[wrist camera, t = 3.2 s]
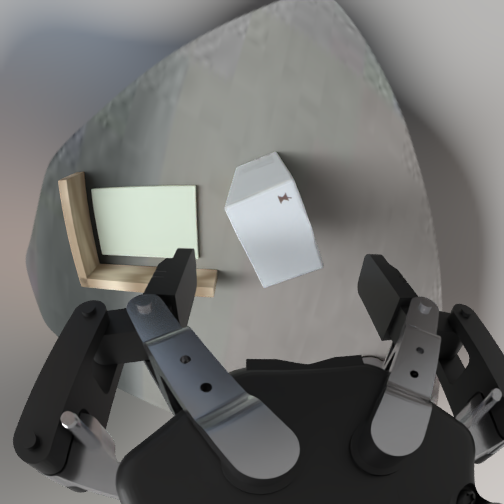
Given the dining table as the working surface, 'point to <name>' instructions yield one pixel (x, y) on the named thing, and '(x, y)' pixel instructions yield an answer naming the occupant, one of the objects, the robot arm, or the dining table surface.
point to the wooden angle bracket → (87, 254)
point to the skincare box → (272, 221)
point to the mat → (146, 220)
